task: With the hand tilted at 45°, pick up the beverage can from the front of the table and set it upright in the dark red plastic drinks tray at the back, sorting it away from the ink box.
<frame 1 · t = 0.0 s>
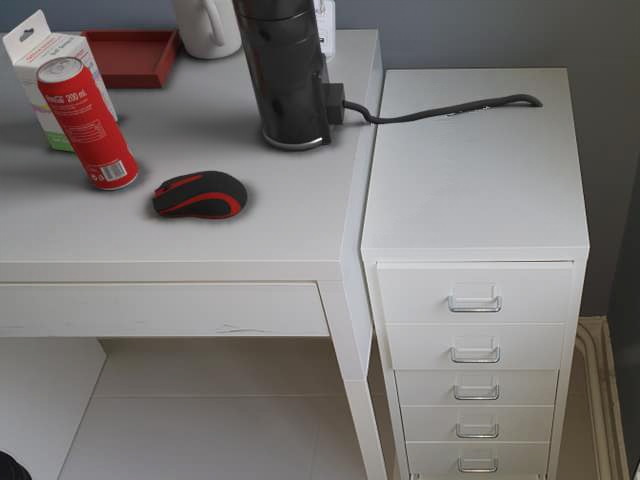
drinks tray: (124, 64, 109), on the table
mug: (217, 52, 112), on the table
ink box: (87, 135, 98), on the table
beverage can: (114, 180, 92), on the table
computer mouse: (203, 204, 89), on the table
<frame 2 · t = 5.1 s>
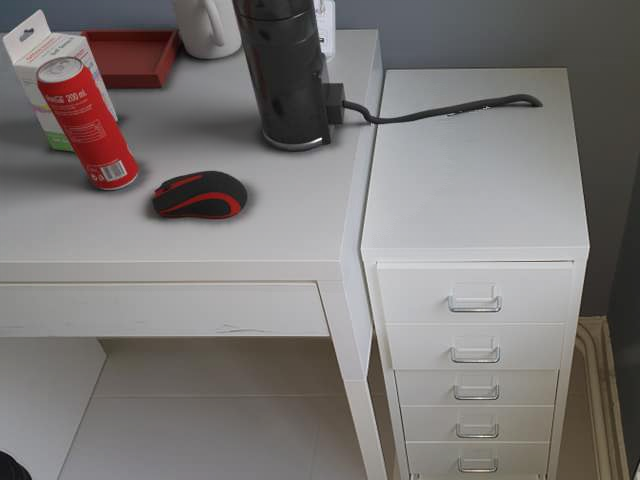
nothing on the table moved.
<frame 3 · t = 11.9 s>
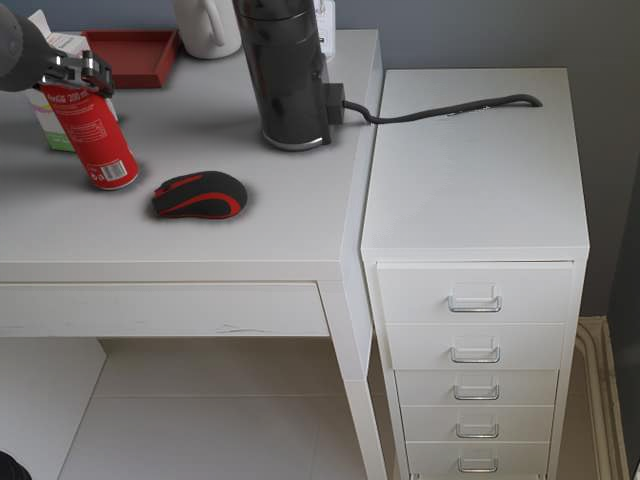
hand: (81, 88, 84), 11 cm above the table, tool tilted 45°, fingers closed on beverage can, 5 cm apart
beverage can: (113, 179, 92), on the table, touching gripper
everything else where it was.
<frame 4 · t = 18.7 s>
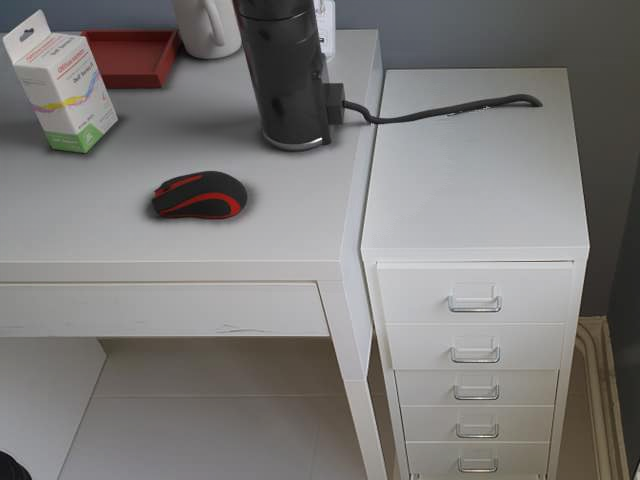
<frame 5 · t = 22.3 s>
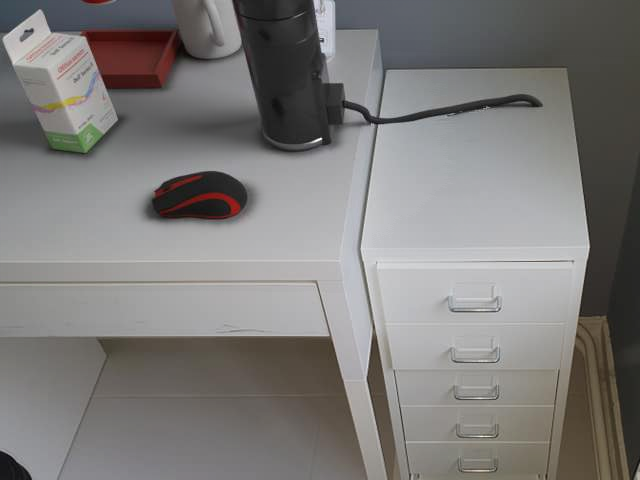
beverage can: (100, 0, 102), point 10 cm above the table, touching gripper
everything else where it was.
when the fingers open (12 cm above the table, at t = 25.3 s): beverage can stays where it is, resting on drinks tray.
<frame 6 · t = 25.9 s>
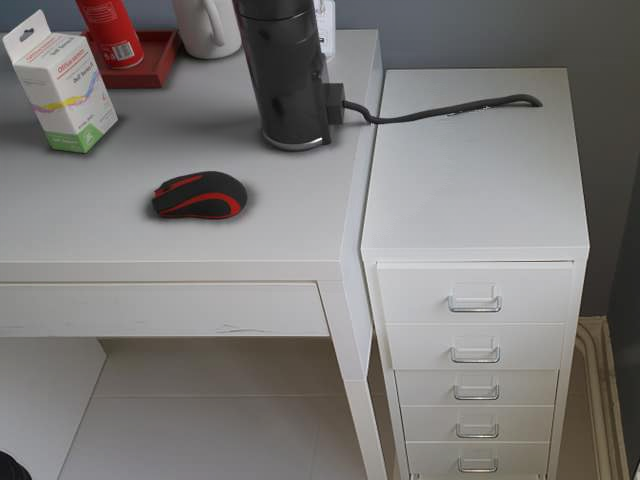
beverage can: (123, 62, 109), resting on drinks tray
everything else where it was.
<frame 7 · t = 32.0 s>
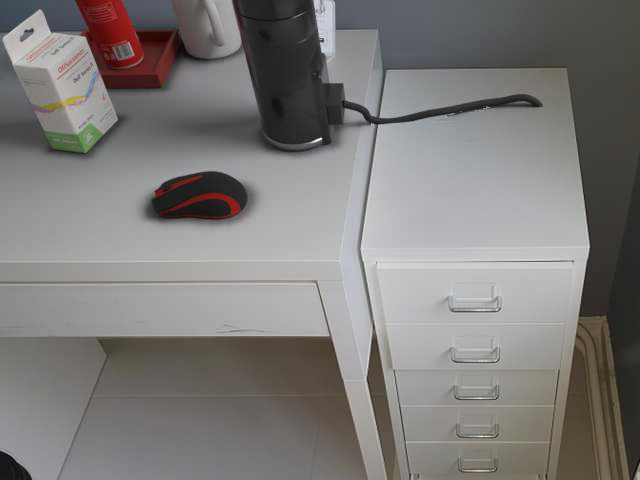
nothing on the table moved.
at the end: beverage can inside the target area in the drinks tray (0.2 cm from its centre), point 0.4 cm above the drinks tray's base; beverage can tilted 0° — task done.
